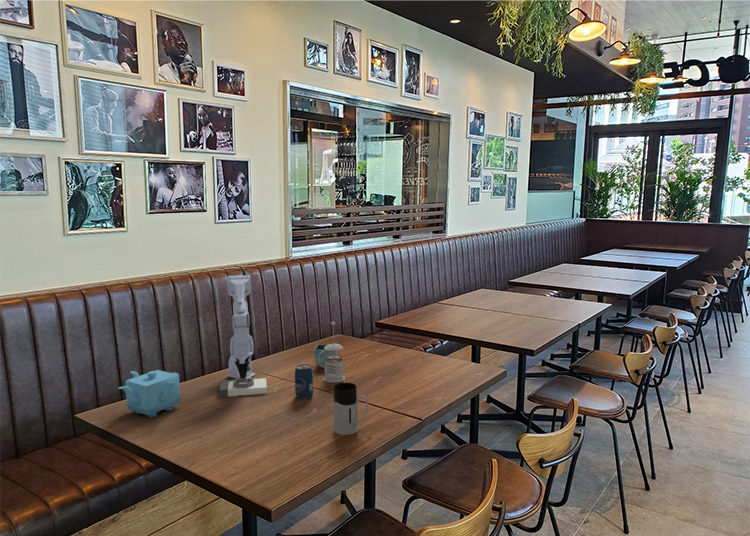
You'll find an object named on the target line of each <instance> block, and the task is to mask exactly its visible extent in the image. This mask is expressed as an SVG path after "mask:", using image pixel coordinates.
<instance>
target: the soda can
mask: <svg viewBox="0 0 750 536" xmlns="http://www.w3.org/2000/svg"><path fill="white" fill-rule="evenodd" d="M313 373H314V371H313V368H312V366H311V365H310V364H306V363H305V364H299V365H296V367H295V370H294V394H295V395H296V398H298V399H300V400H304V399H305V398H307V399H309V398H311V397H312V396H313V394H314V375H313Z"/></svg>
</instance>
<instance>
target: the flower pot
mask: <svg viewBox="0 0 750 536" xmlns="http://www.w3.org/2000/svg"><path fill="white" fill-rule="evenodd" d="M327 345H328V344H320V343H319V344H316V346H315V347H314V349H313V355H314V360H315V363H316V365H317V366H318V368H323V367H324V366H325V360H326V356H327V355H331V354H336V351H328V350H325V349H324V347H325V346H327ZM323 350H325V351H324V352H325V354H324V352H323ZM321 351H322V353H321V354H320V352H321ZM319 354H320V356H319ZM318 356H319V361H320V363H321V364H322V365H323V366H322V365H321V364H320V365H321V366H322V367H321V366H320V365H319V362H318ZM332 361H334V360H330V361H329V362H332ZM329 362H328V363H329ZM328 366H329V365H328ZM324 368H325V367H324Z"/></svg>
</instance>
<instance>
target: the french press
mask: <svg viewBox="0 0 750 536" xmlns="http://www.w3.org/2000/svg"><path fill="white" fill-rule="evenodd" d="M330 324H331V325H332V336H333V337H332V341H333V343H329V344H326V345H327V346H325V347H324V349H325V350H328V351H335V352H338V351H341V350H343V349H344V347H343V346H342V345H341V344H339V343H335V336H334V335H335V334H334V333H335V331H334V326H335V325H336V322H335V321H331V322H330ZM325 350H323V352H324V351H325ZM321 353H322V351H321V352H320V354H321ZM320 354H319V356H320ZM324 354H325V352H324ZM319 356H318V362H319V365H320V364H321V363H320V361H319ZM330 360H333V361H332V362H329V361H330ZM328 362H329V363H328ZM321 365H322V364H321ZM321 365H320V366H321ZM328 365H329V366H328ZM322 366H323V365H322ZM322 366H321V367H320V368H323V369H324V377H323V378H322V380H323V381H324V382H327V383H332V382H334V383H342V382H343V380H344V381H346V379H345V378H346V376H345V375H344V359H343V356H342V355H341V354H338V353H337V354H336V353H335V354H331V355H327V356H326V360H325V366H324V367H322Z"/></svg>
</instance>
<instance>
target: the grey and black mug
mask: <svg viewBox="0 0 750 536" xmlns="http://www.w3.org/2000/svg"><path fill="white" fill-rule="evenodd" d="M361 397H363V398H364V400H365V403H366V405H365V406H366V409H365V412H364V415H363V416H362V417H361V418H360V419H359V420H358V406H359V403H360V398H361ZM368 410H369V401H368V398H367V397H366V395H364V394H360V395H358V396H357V384H355V383H352V382H338V383H337V384H334V386H333V425H334V426H333V427H332V431H333V433H335V434H337V435H341V436H343V435H345V436H348V435H354V434H355V433H357V432H359V430H360V429H359V426H358V425H359V424H358V423H360V422H362V420H364V419H365V418H366V416H367V414H368Z"/></svg>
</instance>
